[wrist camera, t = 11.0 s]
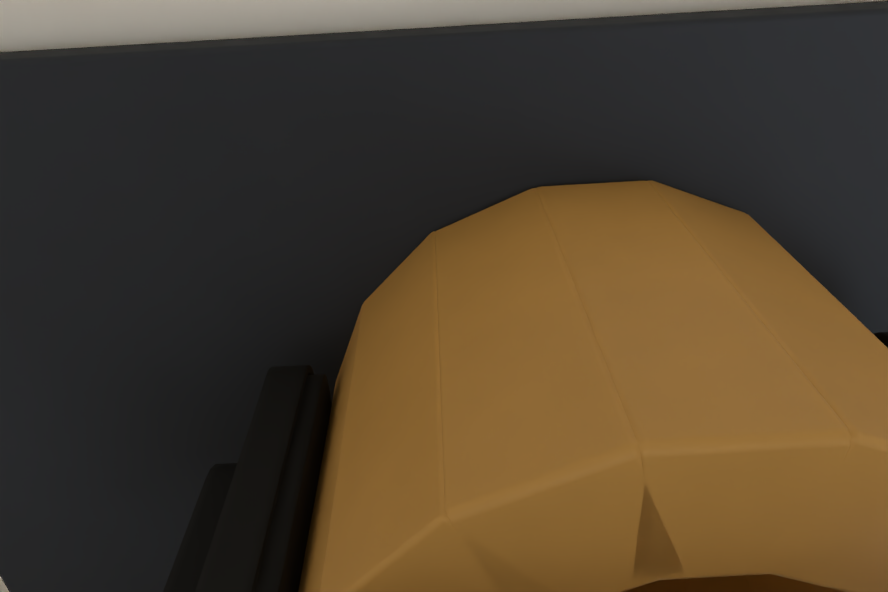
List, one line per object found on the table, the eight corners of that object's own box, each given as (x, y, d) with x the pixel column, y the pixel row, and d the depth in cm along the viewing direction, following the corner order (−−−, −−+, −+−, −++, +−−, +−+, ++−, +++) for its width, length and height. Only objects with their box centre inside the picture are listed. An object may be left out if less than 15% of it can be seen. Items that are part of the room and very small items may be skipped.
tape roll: (367, 574, 12) (337, 921, 8) (306, 197, 9) (196, 474, 4) (769, 551, 12) (947, 887, 8) (877, 164, 9) (1303, 410, 4)
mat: (60, 630, 14) (46, 659, 13) (-244, 65, 8) (-291, 76, 8) (1054, 574, 14) (1078, 600, 13) (1420, -31, 8) (1487, -26, 8)
